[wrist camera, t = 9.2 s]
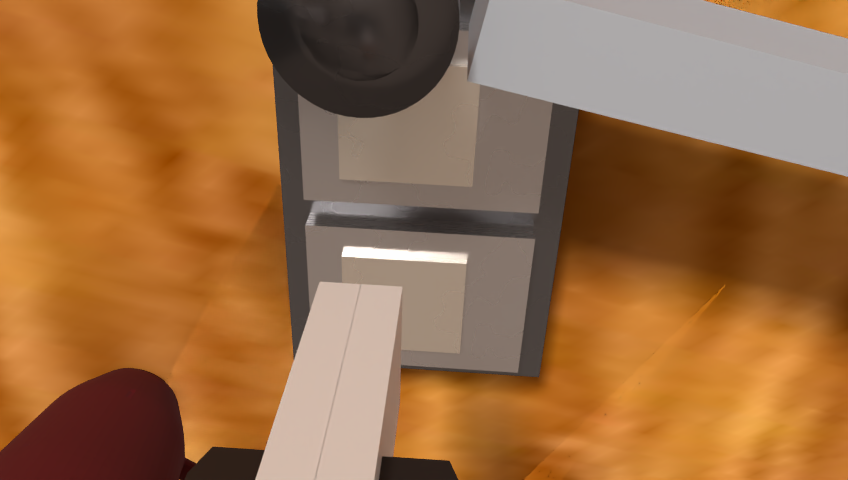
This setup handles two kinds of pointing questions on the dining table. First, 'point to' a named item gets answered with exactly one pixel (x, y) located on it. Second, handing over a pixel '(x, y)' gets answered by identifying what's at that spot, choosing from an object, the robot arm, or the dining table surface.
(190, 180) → the dining table surface
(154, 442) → the mug
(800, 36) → the light grey bar
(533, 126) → the grey stepped machine part
